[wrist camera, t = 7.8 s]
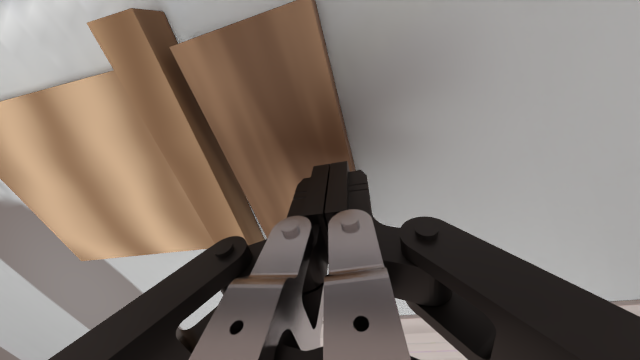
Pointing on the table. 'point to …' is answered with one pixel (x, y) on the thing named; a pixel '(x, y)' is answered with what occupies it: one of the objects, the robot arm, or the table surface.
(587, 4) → the table surface
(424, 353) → the baseboard molding
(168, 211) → the floor edge
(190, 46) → the plank
